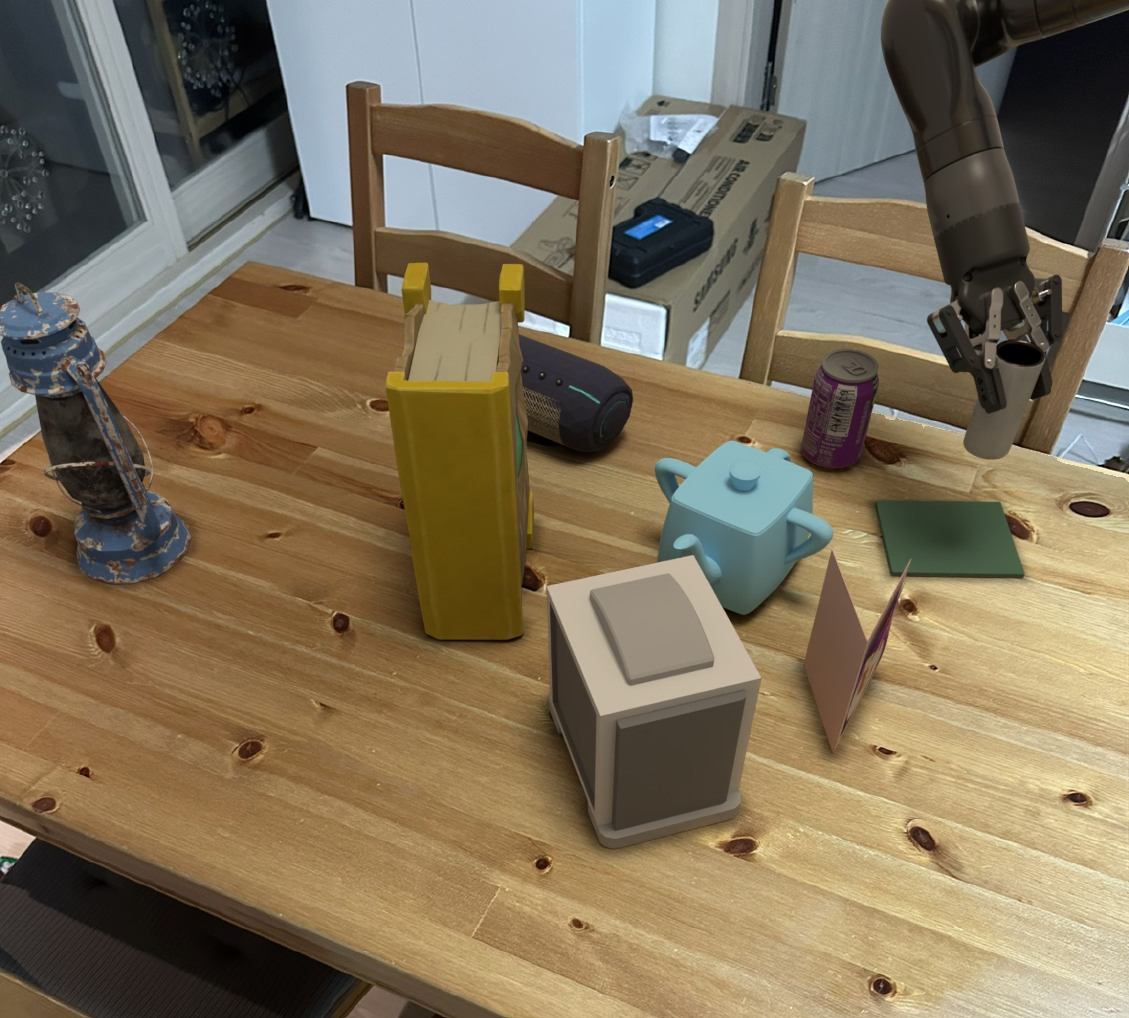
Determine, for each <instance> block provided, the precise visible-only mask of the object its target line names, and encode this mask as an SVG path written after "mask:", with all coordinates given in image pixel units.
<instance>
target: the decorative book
mask: <svg viewBox="0 0 1129 1018" xmlns="http://www.w3.org/2000/svg"><path fill="white" fill-rule="evenodd" d="M429 265H430V264H429V263H428V262H409V263H407V266H406V270H405V273H404V276H403V279H402V284H401V289H400V290H401V296H402V304H403V311H404V315H403V317H404V322H403V324H404V325H403V326H404V327H403V329H404V331H403V333H404V335H403V336H404V338H403V343H404V345H403V347H404V349H403V351H402V354H401V356H399V357H398V356H397V358H396V360H395V364H394V368H393V371H388V372H387V376H386V379H385V382H384V383H385V384H384V385H385V394H386V400H387V408H388V414H389V419H390V420H389V421H390V426H391V427H390V428H391V434H392V441H393V447H394V453H395V460H396V461H395V462H396V468H397V473H398V479H399V485H400V486H399V487H400V492H401V496H402V502H403V503H402V504H403V509H404V514H405V519H406V524H407V529H408V537H409V545H410V546H409V547H410V553H411V559H412V564H413V570H414V571H413V572H414V577H415V578H414V579H415V583H416V589H417V596H418V601H419V605H420V606H419V607H420V611H421V616H422V621H423V626H424V632H425V634H426V635H429V636H430V637H432V638H434V639H436V640H511V639H514V638H518V637H521V636H523V633H524V616H523V597H522V586H523V580H524V574H525V569H526V562H527V550H530V549H533V544H534V533H535V532H534V531H535V504H534V495H533V491H532V490H531V486H530V485H531V484H530V476H529V474H530V473H529V465H528V464H529V463H528V454H527V453H528V452H527V441H528V430H527V428H528V420H527V413H526V406H525V399H524V392H523V384H522V377H521V368H522V363H523V358H522V354H521V350H520V346H519V334H520V333H519V323H520V324H521V323H522V324H523V323H524V322H525V319H526V318H525V312H526V311H525V310H526V309H525V307H526V306H525V305H526V303H525V302H526V299H525V295H526V294H525V293H526V292H525V291H526V290H525V289H526V287H525V268H524V265H523V264H522V263H503V264H502V267H501V271H500V274H499V281H498V298H499V299H498V300H497V301H492V302H487V303H486V302H485V303H482V304H468V303H467V304H466V303H465V304H463V303H462V304H461V303H460V304H459V303H458V304H457V303H456V304H451V303H445V302H441V301H440V302H439V301H436V300H432V283H431V282H432V281H431V276H430V275H431V273H430V267H429Z"/></svg>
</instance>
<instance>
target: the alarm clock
mask: <svg viewBox="0 0 1129 1018" xmlns="http://www.w3.org/2000/svg"><path fill="white" fill-rule="evenodd" d="M546 611H547V613H546V615H547V617H546V618H547V643H548V645H547V648H548V676H549V677H548V678H549V692H548V696H547V697H548V698H547V700H548V701H547V704H548V707H547V708H548V709H549V713H550V715H551V717H552V720H553V723H554V725H555V728H556V730H557V734H562V737H563V739H564V742H565V745H566V747H567V750H568V752H569V755H570V757H571V760H572V763H573V765H574V768H575V771H576V773H577V776H578V778H579V779H578V780H579V781H580V784H581V786H582V789H583V792H584V794H585V797H586V800H587V812H588V815H589V818H590V820H591V823H592V826H593V829H594V831H595V834H596V837H597V839H598V842H599V843H600V845H602V846H603V847H605V848H608V849H613V850H616V849H621V848H625V847H629V846H632V845H636V844H640V843H644V842H648V841H651V840H656V839H659V838H663V837H667V836H671V835H675V834H679V833H682V832H688V831H690V830H694V829H699V828H702V827H706V826H709V825H714V824H717V823H721V822H725V821H730V820H734V818H735V817H736V816H737V815H738V814H739V812H740V807H741V803H742V799H743V798H742V797H743V795H742V794H741V792H740V786H741V782H742V776H743V771H744V767H745V761H746V757H747V753H748V752H747V751H748V746H749V742H750V737H751V732H752V728H753V727H752V726H753V722H754V717H755V712H756V707H757V702H758V697H759V692H760V688H761V682H762V676H761V674H760V672H759V671H758V669H757V667H756V665H755V663H754V661H753V660H752V658H751V656H750V653H748V651H747V649H746V647H745V645H744V643H743V642H742V640H741V638H740V636H739V635H738V633H737V631H736V629H735V627H734V625H733V624H732V622H731V621H730V618H729V616H728V614H727V613H726V611H725V608H724V607H722V606H721V604H720V602H719V600H718V599H717V597H716V595H715V593H714V591H713V589H712V588H711V586H710V584H709V582H708V580H707V579H706V577H705V575H704V573H703V571H702V570H701V568H700V566H699V564H698V562H697V561H696V559H695V557H694V555H691V556H687V557H682V558H677V559H672V560H667V561H662V562H658V561H657V562H653V563H649V564H644V565H640V566H639V565H638V566H634V567H630V568H629V567H628V568H625V569H620V570H616V571H611V572H606V573H600V574H597V575H592V576H587V577H583V578H582V577H581V578H578V579H574V580H568V581H564V582H559V583H555V584H550V585H546Z"/></svg>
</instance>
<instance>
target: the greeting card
mask: <svg viewBox="0 0 1129 1018" xmlns="http://www.w3.org/2000/svg"><path fill="white" fill-rule="evenodd" d="M910 561H911V559H910ZM910 561H909V563H908V565H907V567H906V569H905V571H904V573H903V574H902V576H900V578H899V580H898V583H897V584H896V586H895V588H894V589H893V591H892V593H891V595H890V597H889V599H888V601H887V603H886V604H885V606H884V608H883V610H882V612H881V614H880V616H879V618H878V620H877V621H876V623H875V626H874V627H873V629H872V631H871V633H870V635H869V637H868V638H867V636H866V633H865V630H864V627H863V626H862V623H861V620H860V618H859V615H858V612H857V609H856V607H855V603H854V602H853V599H852V597H851V594H850V591H849V589H848V586H847V584H846V581H845V579H844V576H843V573H842V570H841V568H840V565H839V563H838V560H837V557H836V555H835V551H834V550H833V548H831V551H830V555H829V559H828V563H827V567H826V570H825V576H824V579H823V583H822V588H821V591H820V595H819V600H818V604H817V607H816V608H817V609H816V612H815V616H814V620H813V624H812V628H811V632H810V637H809V641H808V644H807V648H806V653H805V657H804V661H803V667H804V670H805V673H806V676H807V679H808V682H809V685H810V688H811V692H812V694H813V697H814V701H815V704H816V707H817V710H818V713H819V716H820V718H821V719H820V720H821V722H822V726H823V728H824V731H825V735H826V737H827V741H828V744H829V747H830V750H831V753H832V754H834V753H835V751H836V749H837V747H838V745H839V743H840V742H841V740H842V738H843V735H844V734H845V732H846V730H847V727H848V726H849V724H850V722H851V719H852V718H853V716H854V714H855V712H856V710H857V708H858V706H859V705H860V703H861V701H862V698H863V697H864V694H865V692H866V690H867V688H868V687H869V684H870V683H871V681H872V679H873V677H874V676H875V672H876V669H877V668H878V666H879V663H880V661H881V660H882V658H883V655H884V652H885V650H886V647H887V644H888V639H889V634H890V630H891V625H892V621H893V617H894V613H895V611H896V607H897V604H898V601H899V600H900V597H901V595H902V592H903V590H904V586H905V584H906V582H907V580H906V577H907V576H906V574H907V571H908V568H909V564H910Z"/></svg>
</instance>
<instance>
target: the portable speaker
mask: <svg viewBox="0 0 1129 1018" xmlns="http://www.w3.org/2000/svg"><path fill="white" fill-rule="evenodd" d="M519 346H520V350H521V354H522V358H523V363H522V368H521V377H522V384H523V392H524V399H525V406H526V413H527V420H528V428H527V432H531V433H533V434H535V435H538V436H541V437H543V438H546V439H548V440H550V441H553V442H554V443H558V444H559V445H562V446H565V447H566V448H569V449H572V450H574V451H577V452H581V453H582V452H583V453H592V452H597V451H598V452H599V451H602V450H605V449H606V448H608V447H609V446H610V445H611V444H612V443H613V442H614V441H615V440H616V439H617V438H618V437H619V436H620V435H621V433H622V431H623V429H624V427H625V426H626V424H627V422H628V420H629V419H630V416H631V413H632V409H633V408H632V407H633V403H634V394H633V389H632V387H630V385H629V384H628V382H627V381H626V380H625V379H624V378H623V377H621V376H620V375H619V374H617V373H615V372H614V371H612V370H611V369H609V368H608V367H607V366H605V365H603V364H600V363H597V362H594V361H592V360H589V359H587V358H584V357H581V356H578V355H576V354H573V353H570V352H568V351H566V350H562V349H560V348H557V347H554V346H553V345H549V344H547V343H544V342H541V341H538V340H535V339H534V338H530V337H527V336H525V335H522V334H520V333H519Z"/></svg>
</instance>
